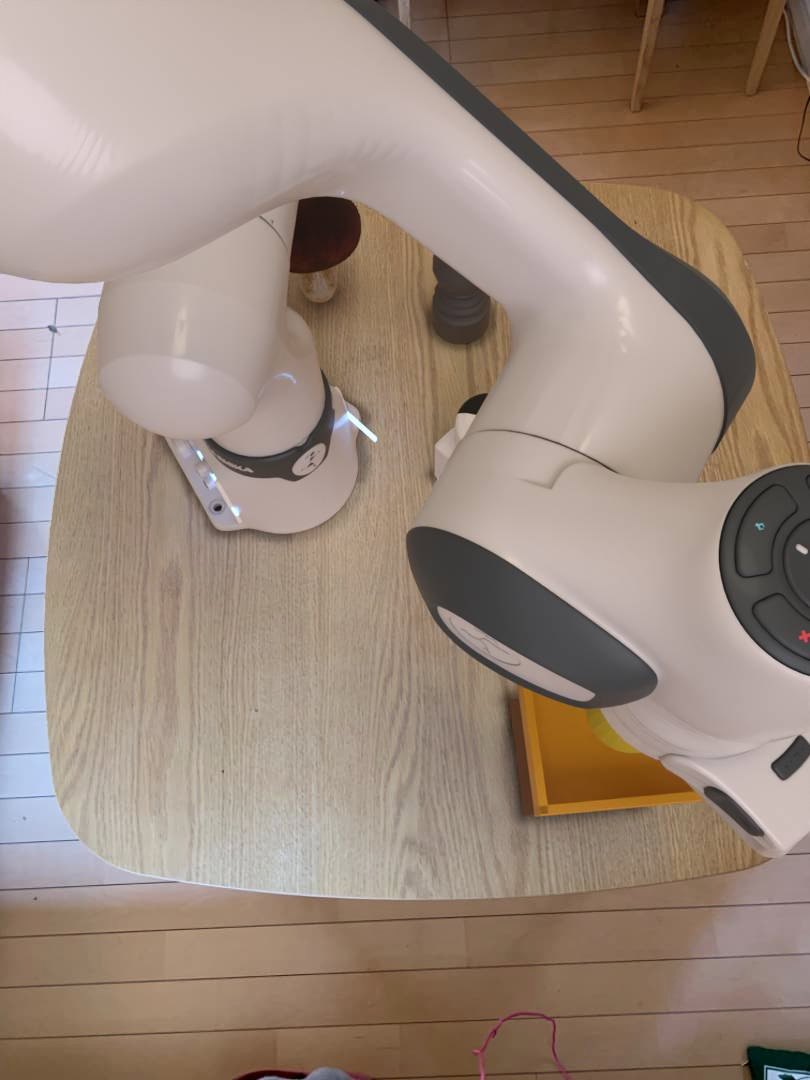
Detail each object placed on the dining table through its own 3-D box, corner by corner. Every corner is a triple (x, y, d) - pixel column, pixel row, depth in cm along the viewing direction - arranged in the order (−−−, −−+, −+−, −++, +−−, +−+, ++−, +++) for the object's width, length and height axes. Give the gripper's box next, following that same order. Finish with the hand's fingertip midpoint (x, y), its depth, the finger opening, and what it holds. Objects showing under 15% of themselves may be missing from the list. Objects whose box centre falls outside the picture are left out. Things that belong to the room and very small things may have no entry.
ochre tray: (511, 824, 74) (540, 815, 54) (495, 696, 78) (517, 644, 58) (650, 811, 74) (729, 797, 54) (628, 684, 78) (694, 627, 58)
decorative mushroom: (356, 244, 96) (343, 140, 82) (380, 323, 92) (370, 228, 78) (261, 266, 95) (232, 165, 81) (282, 347, 92) (254, 256, 77)
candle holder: (453, 286, 94) (459, 97, 70) (500, 314, 92) (523, 130, 69) (420, 326, 92) (416, 146, 68) (467, 354, 91) (480, 180, 67)
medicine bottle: (481, 431, 87) (488, 368, 76) (533, 475, 85) (548, 418, 74) (432, 475, 86) (432, 419, 75) (484, 522, 84) (491, 471, 73)
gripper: (490, 559, 43) (477, 626, 56) (811, 882, 38) (715, 874, 51) (577, 482, 45) (545, 565, 57) (900, 783, 39) (784, 800, 52)
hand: (626, 711), depth 54 cm, fingers closed on lemon, 5 cm apart
